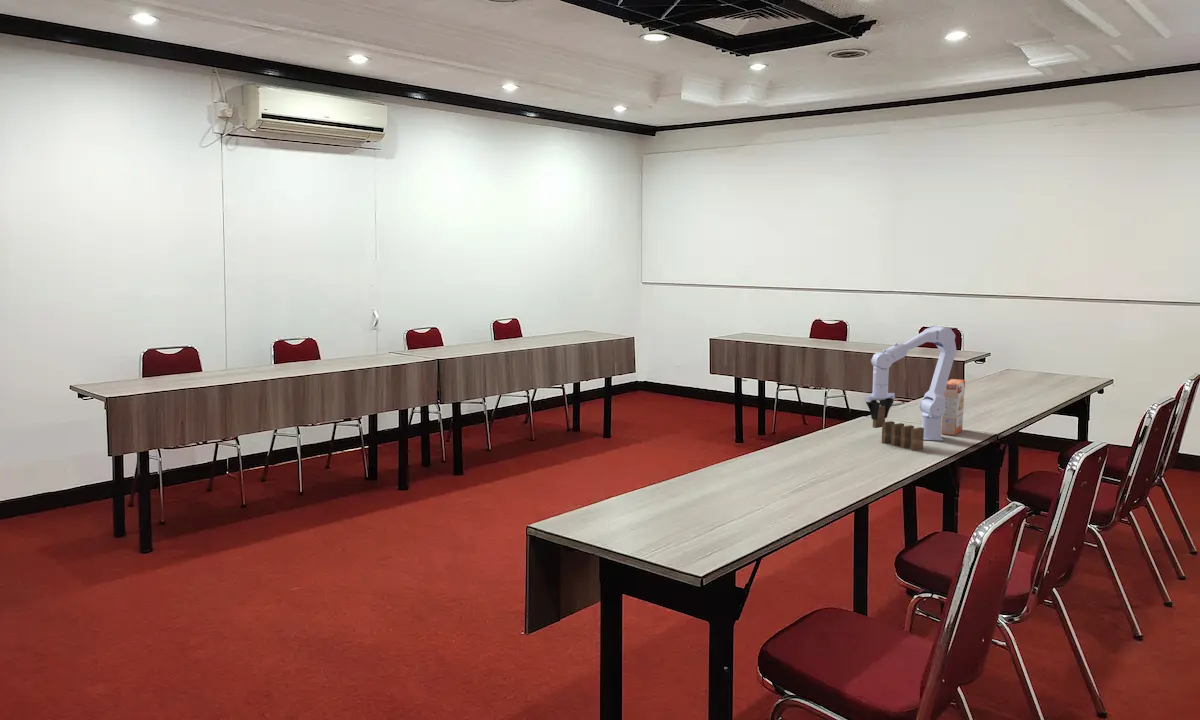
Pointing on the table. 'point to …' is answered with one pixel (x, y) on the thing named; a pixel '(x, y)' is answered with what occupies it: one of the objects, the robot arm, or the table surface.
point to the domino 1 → (879, 417)
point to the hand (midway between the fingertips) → (879, 418)
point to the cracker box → (953, 407)
